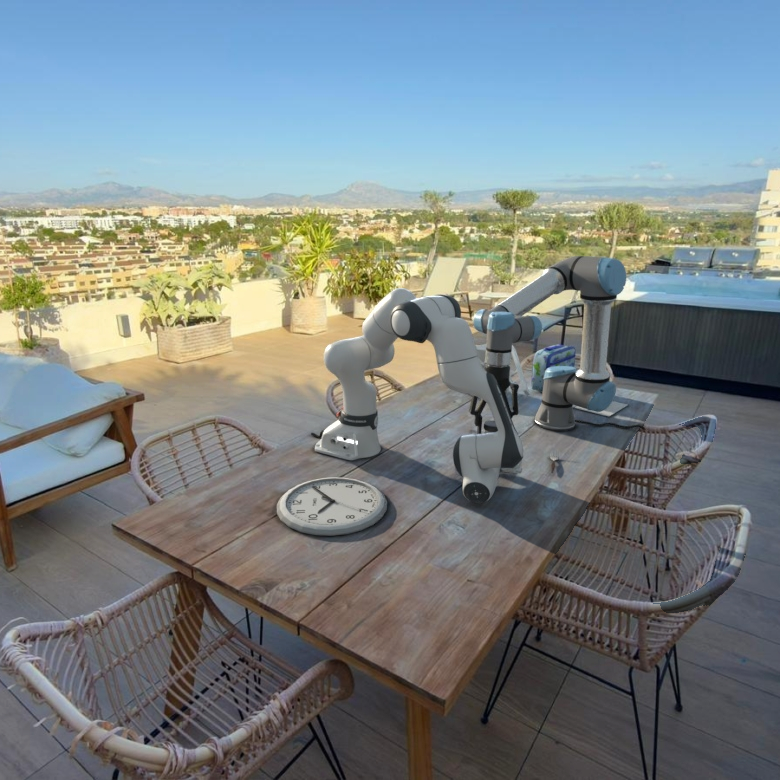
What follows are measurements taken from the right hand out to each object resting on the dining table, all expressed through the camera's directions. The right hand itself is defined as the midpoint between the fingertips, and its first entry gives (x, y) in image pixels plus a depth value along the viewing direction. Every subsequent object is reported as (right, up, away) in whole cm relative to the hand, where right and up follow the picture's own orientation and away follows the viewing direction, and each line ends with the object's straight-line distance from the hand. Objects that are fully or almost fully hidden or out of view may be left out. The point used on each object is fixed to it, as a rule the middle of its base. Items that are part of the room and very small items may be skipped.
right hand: (491, 435), depth 163 cm
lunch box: (+46, +14, +87) cm, 99 cm away
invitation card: (+60, +7, +64) cm, 88 cm away
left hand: (0, -5, +2) cm, 5 cm away
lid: (0, +3, -1) cm, 4 cm away
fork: (+21, -10, +7) cm, 25 cm away
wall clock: (-47, -17, -20) cm, 54 cm away
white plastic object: (+10, +13, +80) cm, 82 cm away
